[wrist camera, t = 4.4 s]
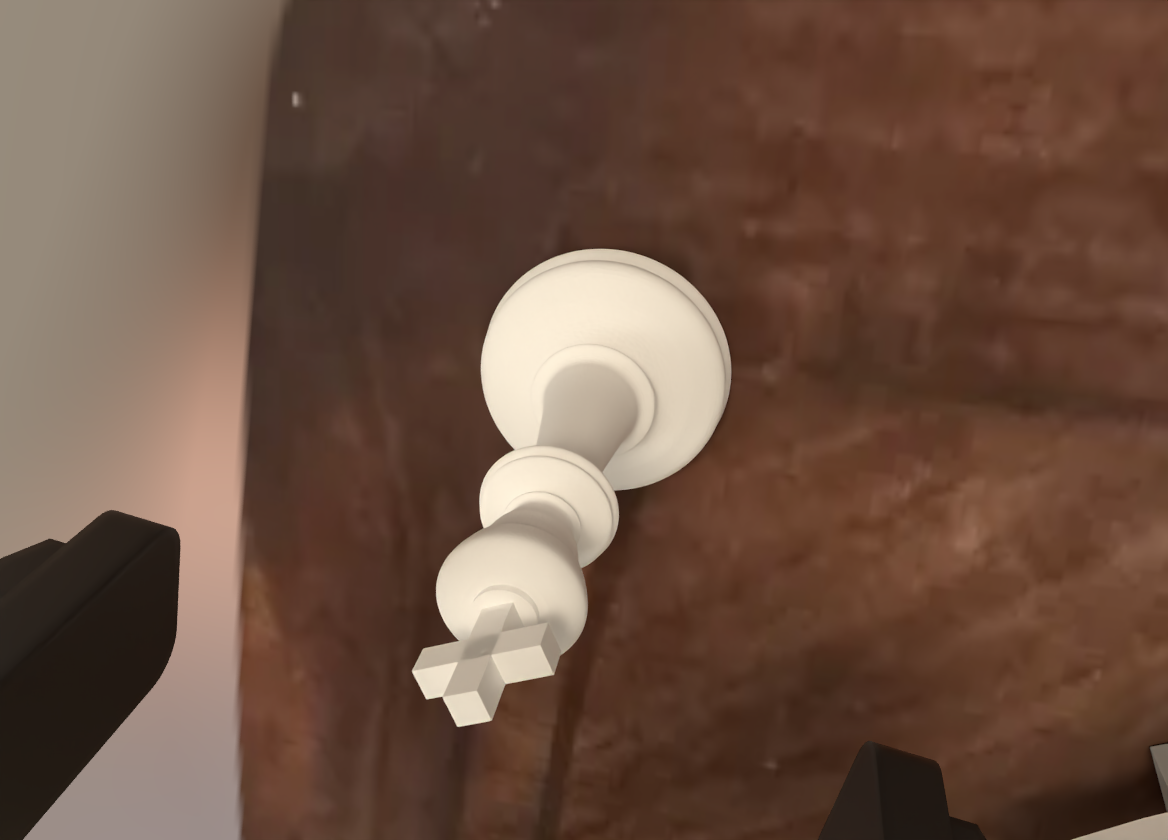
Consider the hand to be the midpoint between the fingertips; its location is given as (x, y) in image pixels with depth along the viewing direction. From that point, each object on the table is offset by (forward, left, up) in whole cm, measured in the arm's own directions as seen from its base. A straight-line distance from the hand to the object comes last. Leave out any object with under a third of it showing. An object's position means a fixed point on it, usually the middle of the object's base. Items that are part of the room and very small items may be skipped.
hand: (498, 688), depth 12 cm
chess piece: (0, 0, -10) cm, 10 cm away
